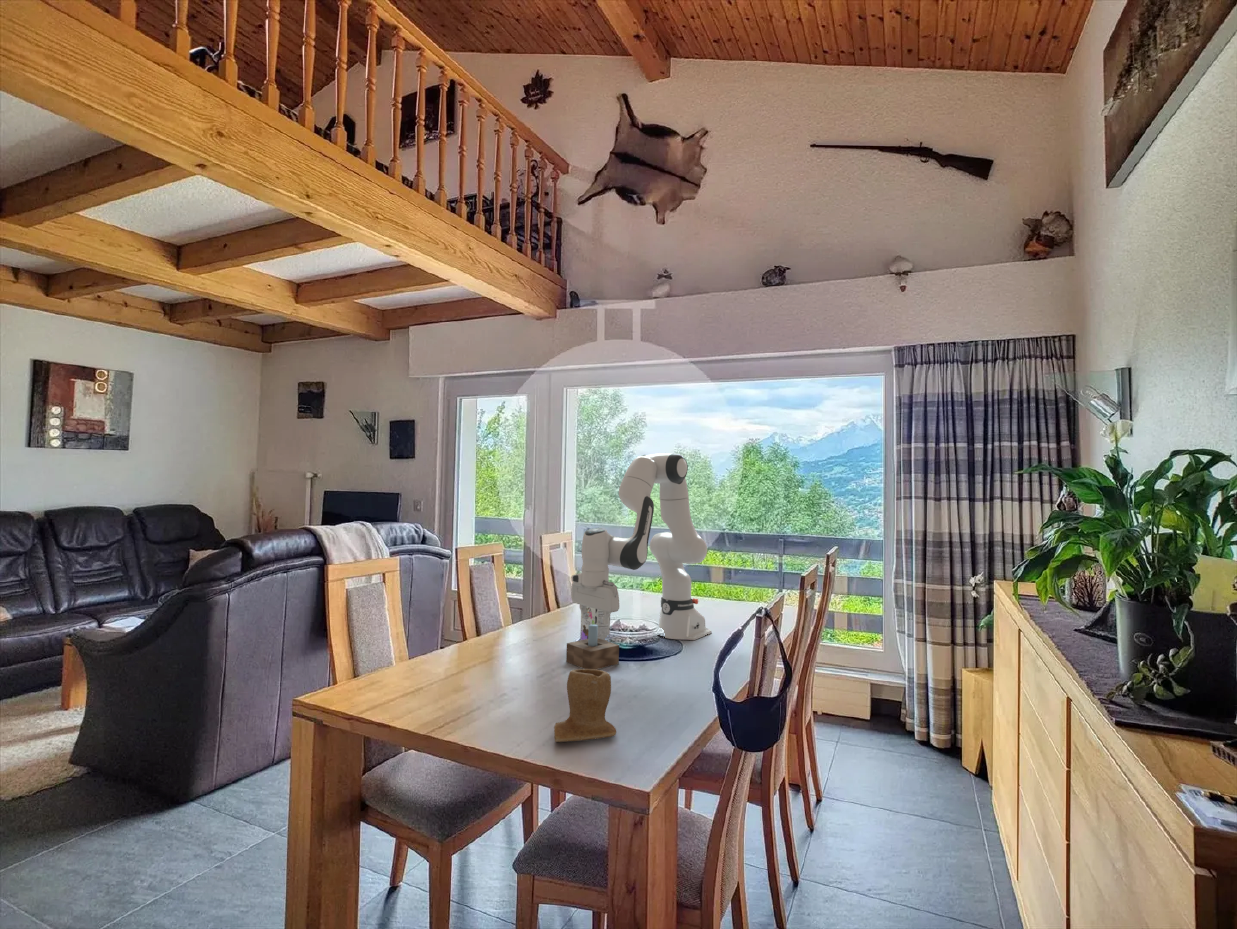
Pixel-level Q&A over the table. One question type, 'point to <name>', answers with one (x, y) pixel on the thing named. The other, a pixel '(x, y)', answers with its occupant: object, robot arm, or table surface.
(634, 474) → the robot arm
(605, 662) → the socket block
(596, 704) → the tan suede boot
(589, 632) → the peg
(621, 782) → the table surface
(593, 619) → the candy box
